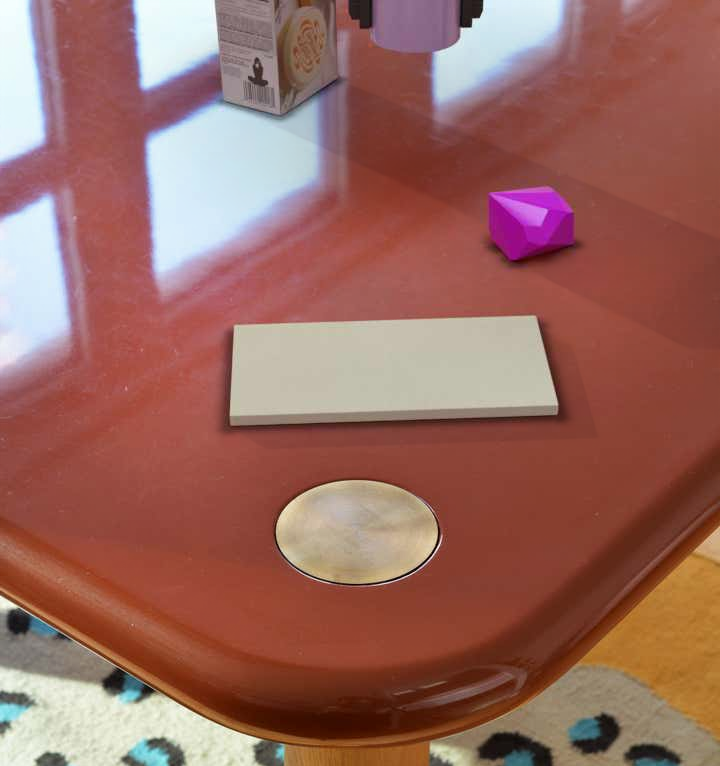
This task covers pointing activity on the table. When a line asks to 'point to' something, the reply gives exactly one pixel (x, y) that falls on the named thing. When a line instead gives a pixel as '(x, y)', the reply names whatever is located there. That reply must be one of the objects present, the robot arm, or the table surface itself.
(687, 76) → the table surface
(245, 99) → the cookie box
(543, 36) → the table surface
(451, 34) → the lavender cylindrical tub
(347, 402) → the board
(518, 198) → the crystal
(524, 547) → the table surface
